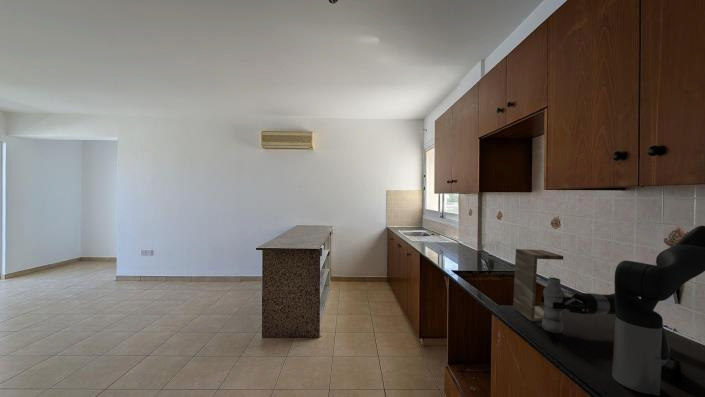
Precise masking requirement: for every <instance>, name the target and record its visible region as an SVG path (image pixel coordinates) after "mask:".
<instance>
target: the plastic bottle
mask: <svg viewBox="0 0 705 397" xmlns="http://www.w3.org/2000/svg"><path fill="white" fill-rule="evenodd" d="M547 283H548V284H547V285H546V286H545V287H544V288H543V292H542V293H543V296H544V302H543V305H544V308H543V309H544V315H543V319H542V321H541V326H542V328H543V329H544V330H545V331H546V332H549V333H552V334H561V333H562V332H563V330H564V322H563V315H562V313H563V312H562V311H563V309H554V308H553V303H554V302H555V303H563V299H564V296H565V293H564V290H563V289H562V287H561V286H560V285H561V284H562V283H561V279H560V278H557V277H548V281H547Z"/></svg>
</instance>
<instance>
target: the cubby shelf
mask: <svg viewBox="0 0 705 397" xmlns="http://www.w3.org/2000/svg"><path fill="white" fill-rule="evenodd" d="M538 260H559V261H561V260H564V256H563V255H560V254H558V253H554V252H550V251H547V250H544V249H543V250H542V249H524V248H523V249H522V248H521V249H520V248H515V259H514V261H515V263H514V282H513V300H512V301H513V302H512V309H513V310H514V311H516V312H518V313H519V314H520V315H522V316H523V317H525V318H526V319H527V320H529V321H531V322H542V319H543V315H544V308H542V307H541V306H536V292H537V291H536V290H537V273H538V272H537V270H538Z"/></svg>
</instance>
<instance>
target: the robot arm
mask: <svg viewBox="0 0 705 397" xmlns="http://www.w3.org/2000/svg"><path fill="white" fill-rule="evenodd" d="M704 272H705V225H699V226H695V227H694V228H693V229H691V230H690V231H689V232H687V233H686V234H685V235H684V236H682V238H681V239H680V240H679V241H678V242H677V243H676V244H675V245H672V246H670V247H668V248H666V249H664V250H662V251H661V252H659V253H658V254H657V256H656V258H655V264H650V263H644V262H637V261H633V260H622V261H620V262H619V263H618V264H617V265H616V268H615V272H614V283H613V284H614V293H610V294H601V293H591V292H590V293H589V292H585V293H584V292H575V293H574V294H572V296H570V295H564V299H563V303H555V302H554V303H553V308H554V309H562V310H564V311H566V312H567V311H568V312H569V313H571V314H572V313H573V314H580V315H615V319H614V320H615V322H614V323H615V324H614V337H613V338H614V340H613V356H612V369H611V372H612V374H611V375H612V376H611V377H612V378H613V380H614V381H616V382H617V383H618V384H620V385H622V386H623V387H626V388H627V389H630V390H632V391H635V392H639V393H642V394H647V395H655V396H657V397H660V395H661V379H662V378H661V377H662V366H661V365H662V360H661V342H662V326H663V322H664V321H663V320H664V319H663V316H662V315H661V314H660V313H659V312H657V311H655V308H656V306H657V305H658V303H659V302H663V301H666V300H668V299H669V298H671V297H672V296H673V295H674V294H675V293H676V292H677V291H678V290H680V288H681V287H682V286H683V285H686V283H687V282H689V281H690V280H692V279H694V278H696V277H698V276H700V275H701V274H703V273H704ZM539 300H540V302H541V303H544V295H541V296H540V299H539ZM663 327H664V326H663Z"/></svg>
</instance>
